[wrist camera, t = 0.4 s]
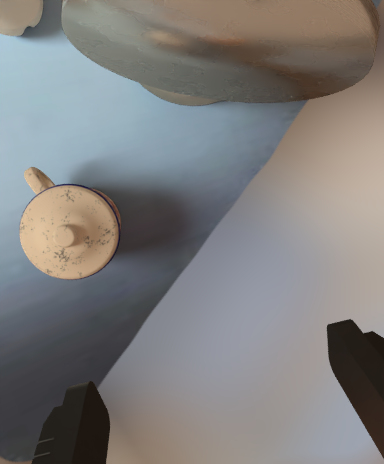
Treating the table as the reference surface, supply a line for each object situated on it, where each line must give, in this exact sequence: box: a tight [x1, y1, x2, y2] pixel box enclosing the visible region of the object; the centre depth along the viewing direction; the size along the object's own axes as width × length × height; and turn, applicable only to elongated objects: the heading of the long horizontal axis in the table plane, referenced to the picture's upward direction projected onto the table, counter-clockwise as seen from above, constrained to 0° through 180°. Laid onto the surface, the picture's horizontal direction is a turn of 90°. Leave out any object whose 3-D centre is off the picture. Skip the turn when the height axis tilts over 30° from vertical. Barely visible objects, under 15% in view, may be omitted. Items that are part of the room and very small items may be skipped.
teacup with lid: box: [20, 167, 121, 280], centre depth 35 cm, size 12×9×12 cm
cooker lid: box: [61, 0, 380, 103], centre depth 21 cm, size 22×19×2 cm
